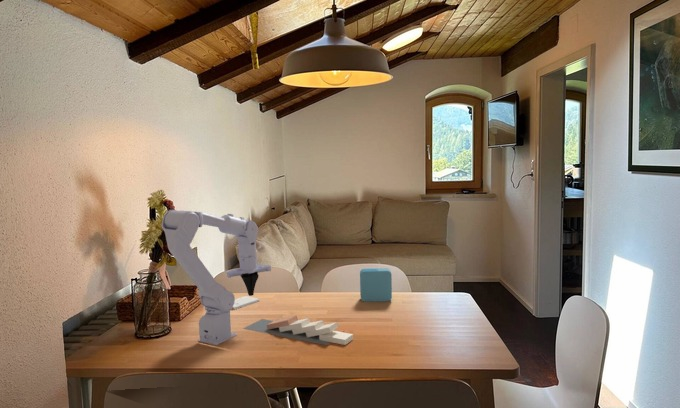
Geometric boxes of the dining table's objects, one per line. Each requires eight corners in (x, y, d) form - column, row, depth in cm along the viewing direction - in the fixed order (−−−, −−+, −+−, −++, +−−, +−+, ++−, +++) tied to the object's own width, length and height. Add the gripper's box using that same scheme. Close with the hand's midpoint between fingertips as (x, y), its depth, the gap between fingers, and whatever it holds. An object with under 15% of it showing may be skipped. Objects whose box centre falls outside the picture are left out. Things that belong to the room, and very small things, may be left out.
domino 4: (307, 337, 146) (330, 332, 142) (305, 332, 147) (329, 327, 142) (315, 332, 151) (338, 327, 146) (314, 327, 151) (337, 322, 147)
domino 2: (280, 332, 152) (302, 327, 147) (278, 327, 152) (300, 322, 147) (289, 327, 156) (310, 322, 151) (287, 322, 156) (309, 317, 152)
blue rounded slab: (390, 297, 187) (390, 268, 186) (391, 301, 183) (391, 270, 181) (360, 298, 187) (359, 268, 186) (360, 301, 183) (360, 271, 182)
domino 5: (319, 339, 144) (345, 345, 140) (319, 334, 144) (345, 339, 140) (327, 334, 149) (353, 339, 144) (327, 329, 149) (352, 334, 144)
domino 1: (267, 329, 154) (289, 325, 150) (266, 324, 154) (287, 320, 150) (277, 324, 158) (297, 320, 154) (275, 320, 158) (296, 315, 154)
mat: (326, 346, 140) (326, 345, 140) (243, 329, 156) (243, 328, 156) (342, 335, 149) (342, 333, 149) (262, 320, 164) (262, 318, 164)
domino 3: (293, 334, 149) (315, 330, 145) (291, 329, 149) (314, 325, 145) (302, 329, 153) (324, 325, 149) (300, 324, 154) (322, 320, 149)
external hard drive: (259, 302, 186) (234, 311, 177) (245, 299, 191) (220, 307, 182) (259, 298, 186) (234, 306, 176) (245, 295, 191) (220, 303, 182)
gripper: (228, 261, 151) (231, 302, 153) (272, 254, 157) (274, 294, 158) (224, 256, 157) (227, 295, 159) (266, 250, 163) (269, 288, 165)
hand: (250, 294), depth 159 cm, fingers closed
